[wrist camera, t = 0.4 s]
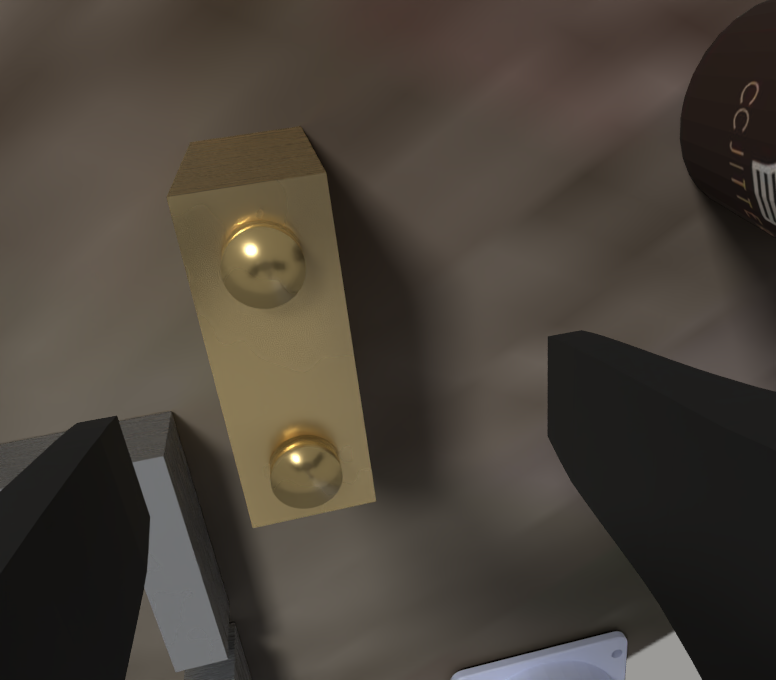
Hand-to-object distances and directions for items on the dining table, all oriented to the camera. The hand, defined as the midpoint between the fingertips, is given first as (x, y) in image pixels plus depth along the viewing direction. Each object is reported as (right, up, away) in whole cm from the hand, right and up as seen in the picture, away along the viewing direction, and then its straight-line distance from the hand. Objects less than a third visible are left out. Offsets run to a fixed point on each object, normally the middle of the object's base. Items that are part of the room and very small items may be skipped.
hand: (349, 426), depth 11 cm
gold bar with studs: (-3, +4, +9) cm, 10 cm away
